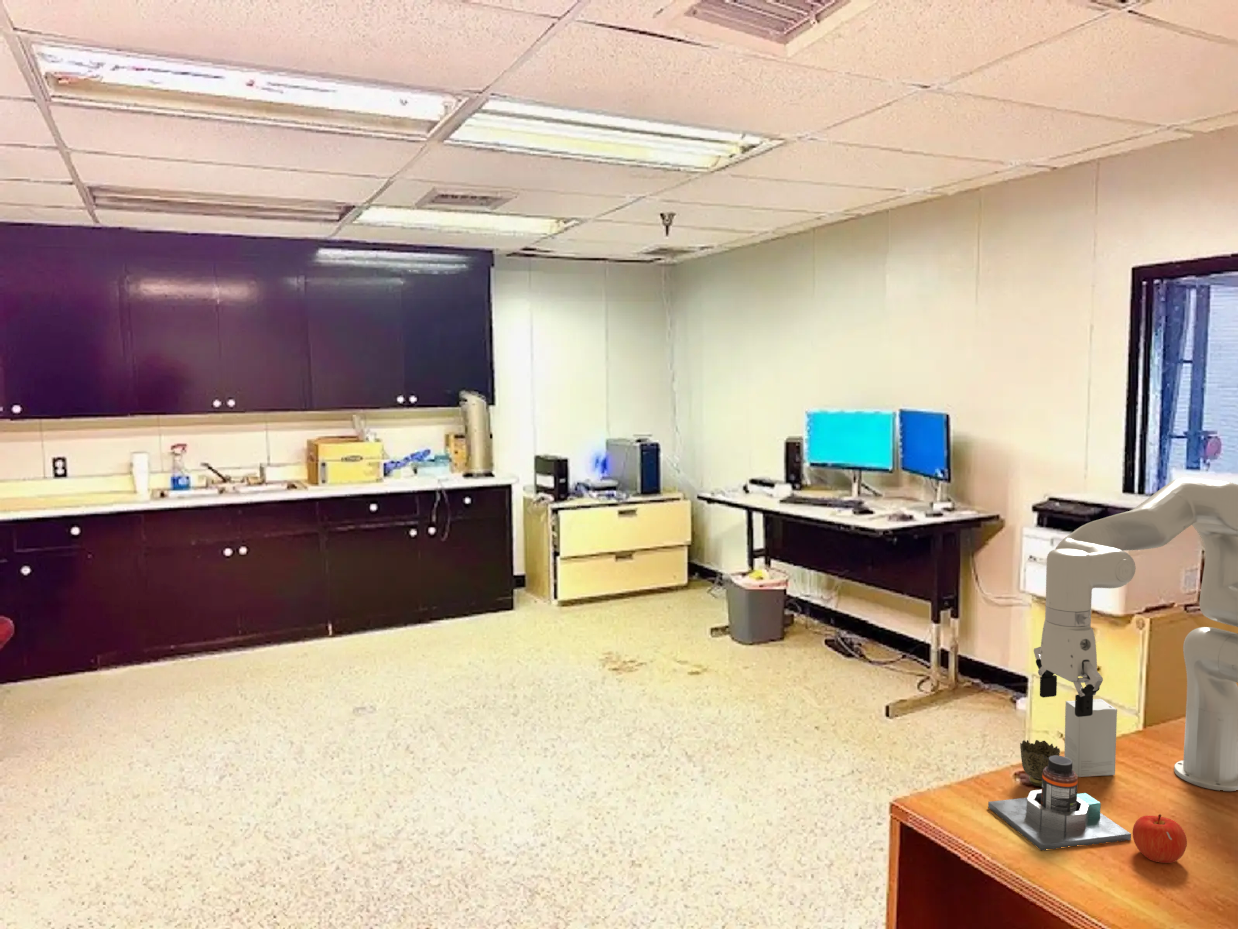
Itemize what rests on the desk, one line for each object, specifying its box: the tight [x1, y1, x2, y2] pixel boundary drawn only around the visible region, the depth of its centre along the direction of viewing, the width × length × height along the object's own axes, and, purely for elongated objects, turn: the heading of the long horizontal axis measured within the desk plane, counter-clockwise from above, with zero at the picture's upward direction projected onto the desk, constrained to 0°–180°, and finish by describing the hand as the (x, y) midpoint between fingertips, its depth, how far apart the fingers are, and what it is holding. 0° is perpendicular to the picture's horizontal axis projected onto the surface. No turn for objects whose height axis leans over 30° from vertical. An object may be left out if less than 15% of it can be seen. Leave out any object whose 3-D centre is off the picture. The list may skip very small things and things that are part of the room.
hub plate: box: [988, 789, 1132, 851], centre depth 164 cm, size 18×16×4 cm
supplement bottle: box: [1041, 755, 1079, 812], centre depth 164 cm, size 6×6×11 cm
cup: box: [1019, 739, 1061, 787], centre depth 180 cm, size 8×7×8 cm
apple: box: [1132, 813, 1188, 864], centre depth 152 cm, size 8×8×8 cm
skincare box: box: [1063, 698, 1118, 778], centre depth 185 cm, size 8×6×15 cm
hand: (1065, 705), depth 163 cm, fingers open, 9 cm apart
